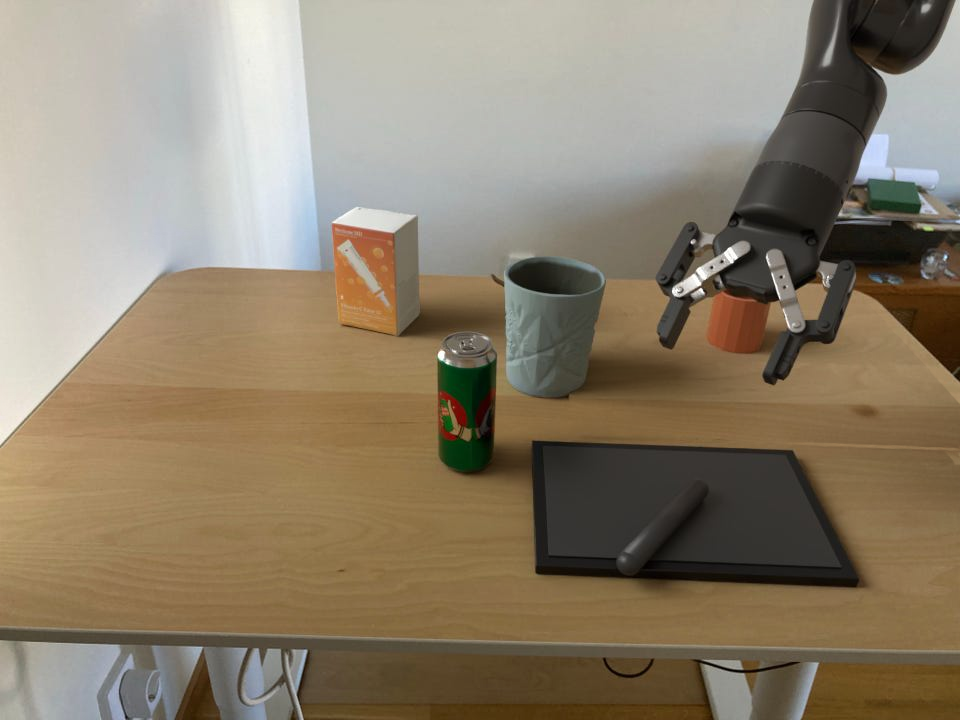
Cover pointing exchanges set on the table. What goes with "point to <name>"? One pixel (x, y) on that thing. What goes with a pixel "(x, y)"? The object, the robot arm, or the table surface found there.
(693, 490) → the stylus
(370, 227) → the small box
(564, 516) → the tablet
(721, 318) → the pen pot
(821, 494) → the table surface
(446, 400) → the soda can
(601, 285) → the embossed blue-green cup
